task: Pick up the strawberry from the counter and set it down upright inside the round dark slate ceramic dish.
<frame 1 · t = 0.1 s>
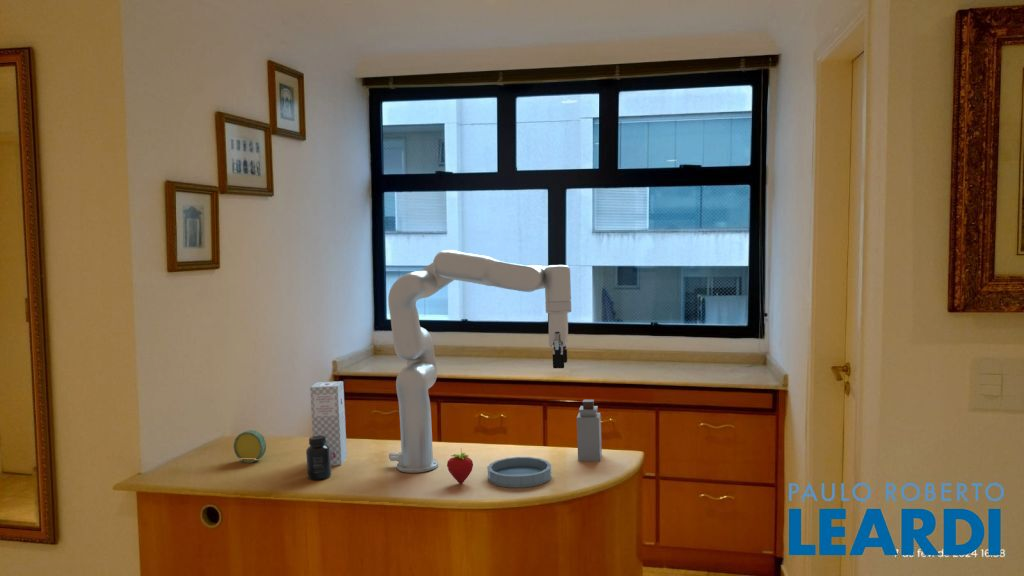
hand: (560, 365, 209), 31 cm above the counter, tool pointing down, fingers open, 9 cm apart
decorative artifact: (254, 460, 233), on the counter
slate dish: (519, 477, 205), on the counter
box: (331, 462, 227), on the counter
strawberry: (460, 484, 202), on the counter
supplement bottle: (319, 477, 212), on the counter
perfume bottle: (590, 458, 221), on the counter
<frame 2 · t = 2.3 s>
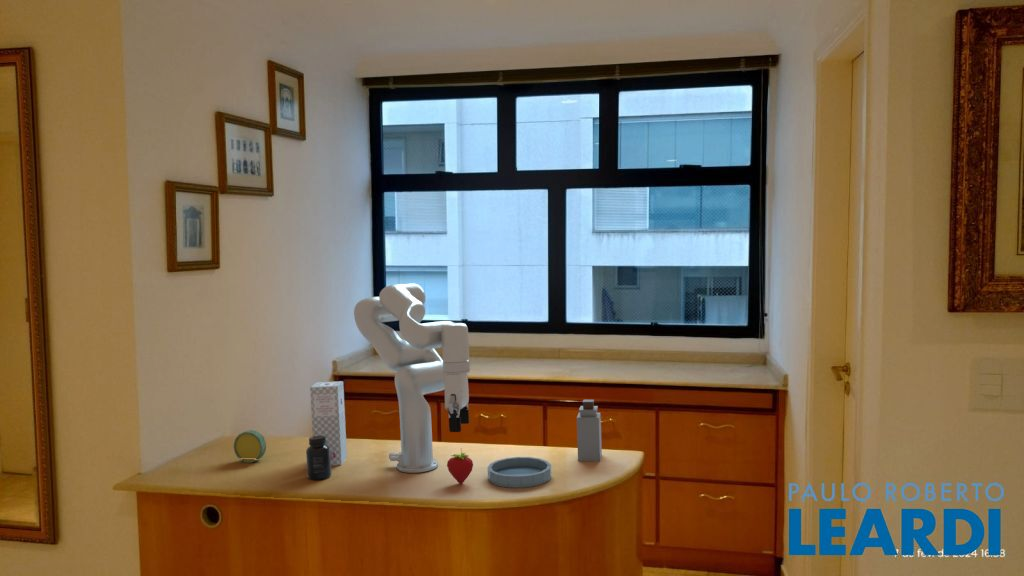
hand: (459, 427, 200), 16 cm above the counter, tool pointing down, fingers open, 9 cm apart
nothing on the counter moved.
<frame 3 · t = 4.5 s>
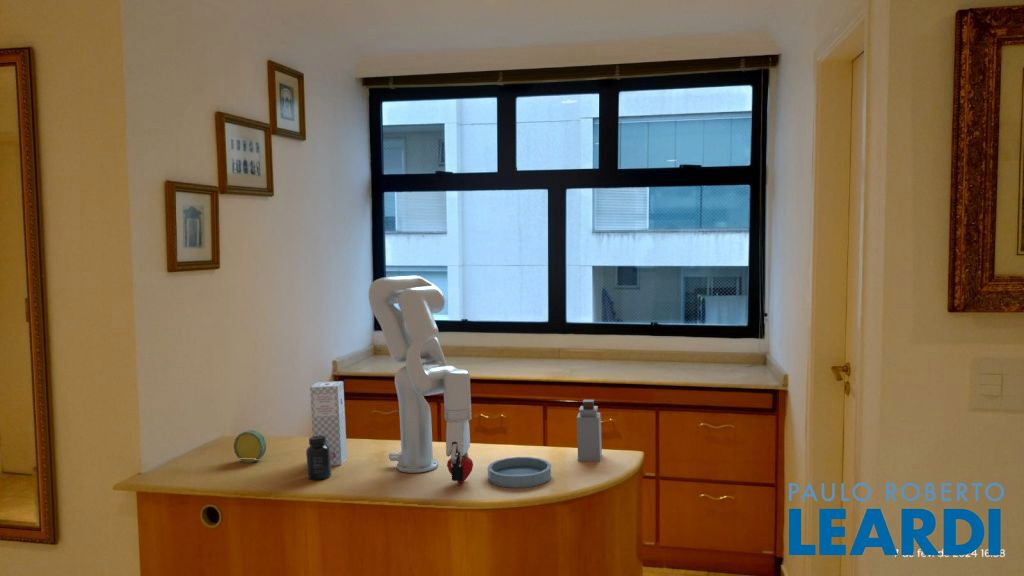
hand: (460, 476, 202), 2 cm above the counter, tool pointing down, fingers closed on strawberry, 6 cm apart
strawberry: (460, 484, 202), on the counter, touching gripper
everything else where it was.
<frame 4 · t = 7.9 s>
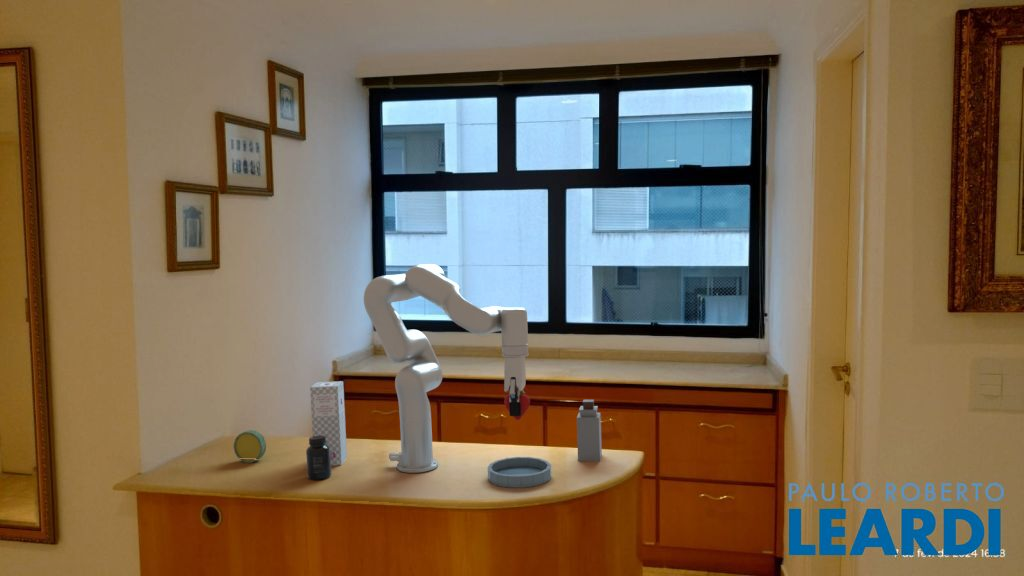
hand: (517, 412, 204), 19 cm above the counter, tool pointing down, fingers closed on strawberry, 6 cm apart
strawberry: (517, 420, 204), point 17 cm above the counter, touching gripper
everything else where it was.
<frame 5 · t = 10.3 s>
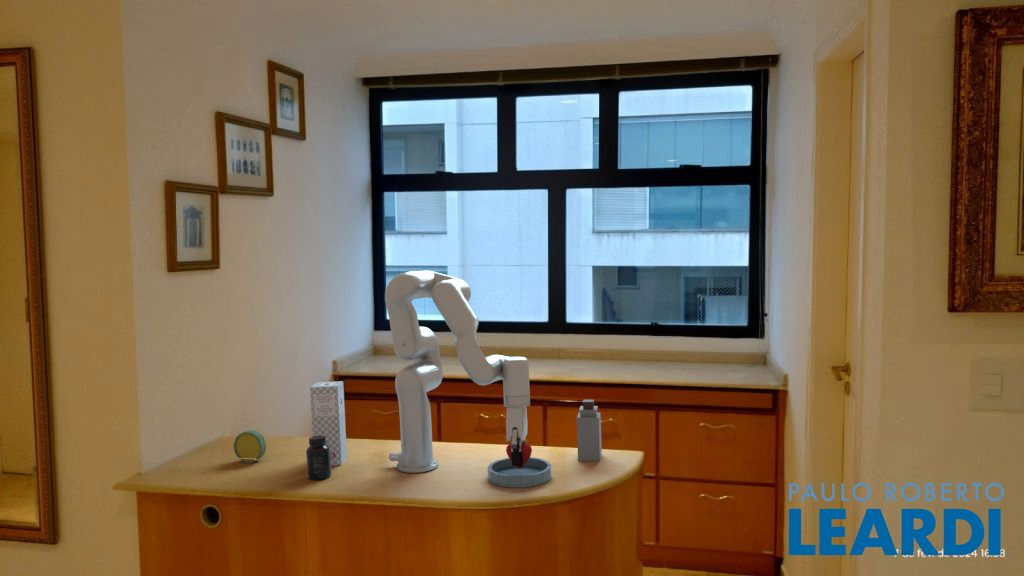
hand: (519, 461, 205), 5 cm above the counter, tool pointing down, fingers closed on strawberry, 6 cm apart
strawberry: (519, 469, 205), point 2 cm above the counter, touching gripper
everything else where it was.
when the fingers open (4 cm above the counter, at t = 11.4 s): strawberry drops 1 cm, resting on slate dish.
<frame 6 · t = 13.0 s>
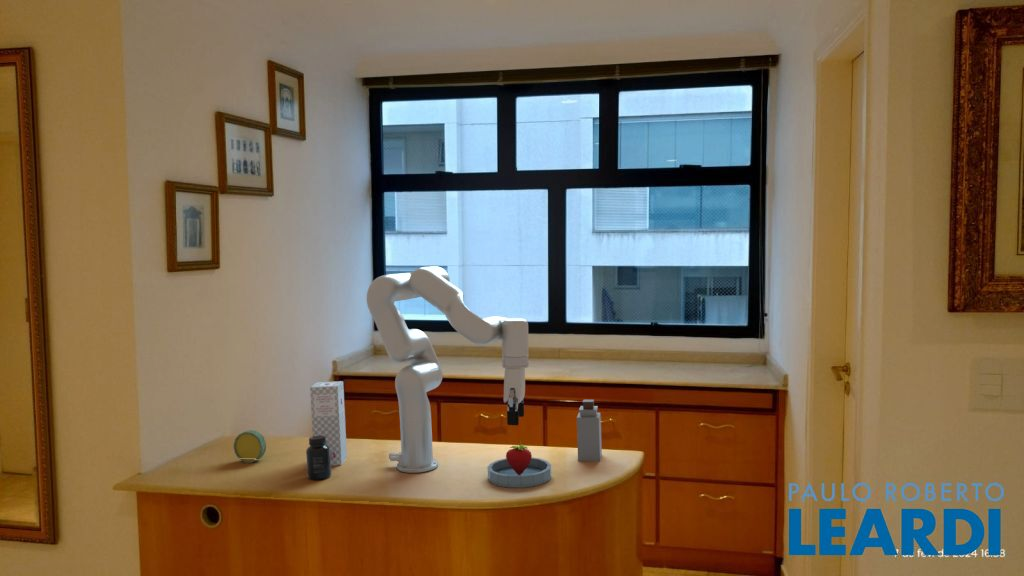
hand: (515, 420, 204), 17 cm above the counter, tool pointing down, fingers open, 9 cm apart
strawberry: (519, 475, 205), point 1 cm above the counter, touching slate dish
everything else where it was.
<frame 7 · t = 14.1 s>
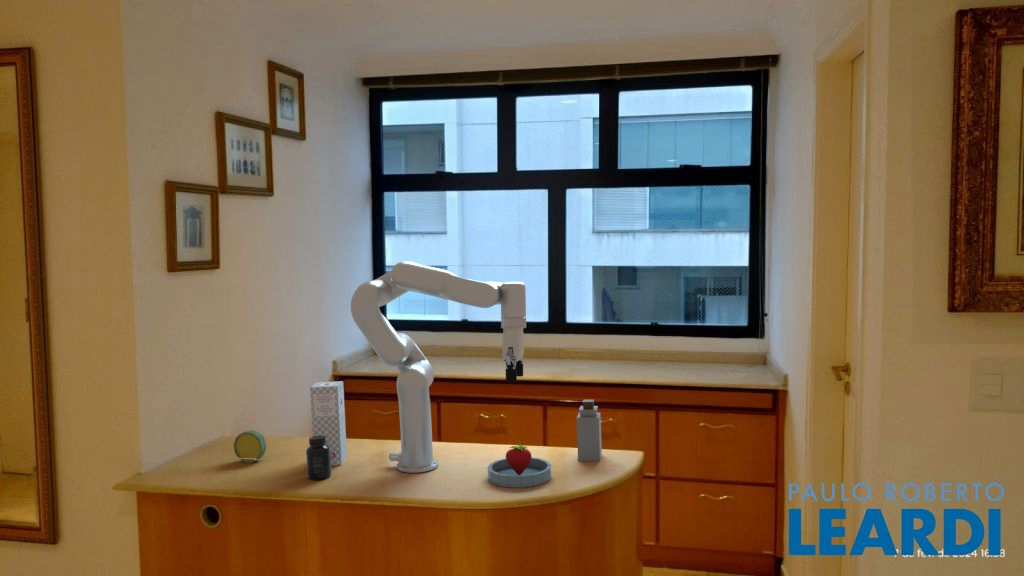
hand: (514, 379, 215), 26 cm above the counter, tool pointing down, fingers open, 9 cm apart
nothing on the counter moved.
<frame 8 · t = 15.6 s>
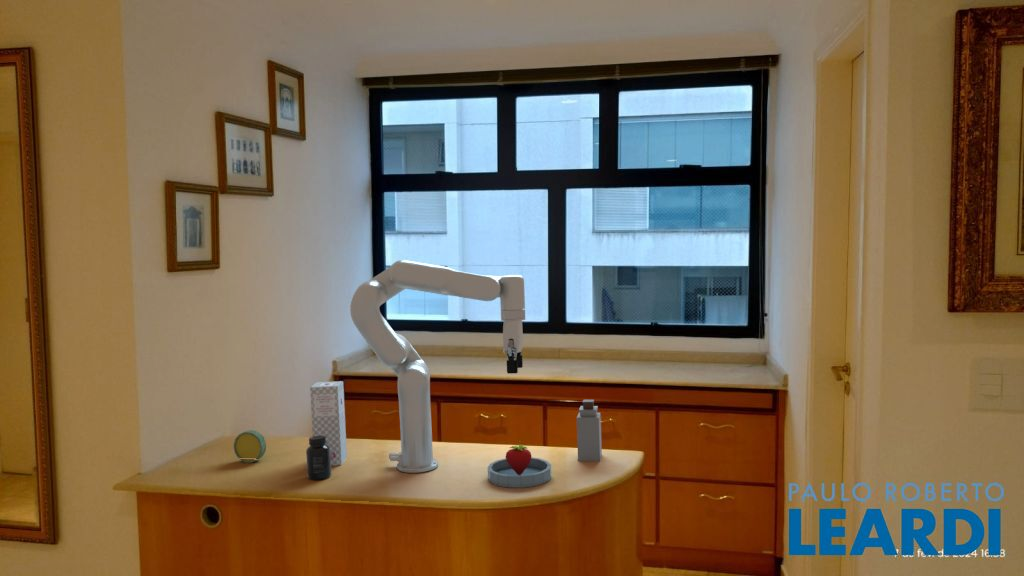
hand: (515, 370, 220), 28 cm above the counter, tool pointing down, fingers open, 9 cm apart
nothing on the counter moved.
at the end: strawberry inside the target area on the slate dish (0.1 cm from its centre), point 0.6 cm above the slate dish's base; strawberry tilted 0°; the gripper is holding nothing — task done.
